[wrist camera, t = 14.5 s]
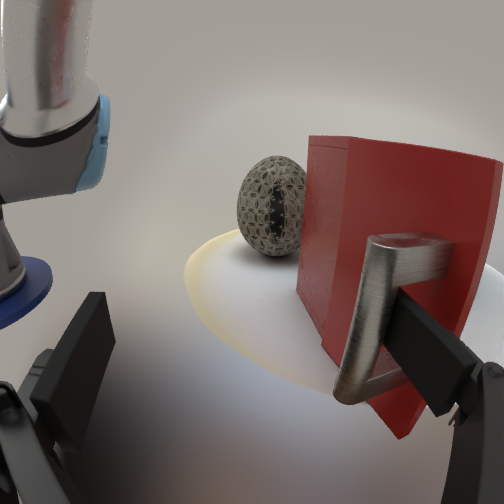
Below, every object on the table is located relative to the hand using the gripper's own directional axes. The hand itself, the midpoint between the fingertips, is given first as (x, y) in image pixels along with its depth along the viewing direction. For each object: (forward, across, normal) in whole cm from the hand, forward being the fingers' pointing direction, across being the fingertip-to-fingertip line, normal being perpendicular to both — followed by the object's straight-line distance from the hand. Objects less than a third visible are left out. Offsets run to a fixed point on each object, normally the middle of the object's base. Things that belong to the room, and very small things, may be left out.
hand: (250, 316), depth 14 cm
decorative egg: (+32, +8, -10) cm, 35 cm away
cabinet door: (+3, +7, -9) cm, 12 cm away
